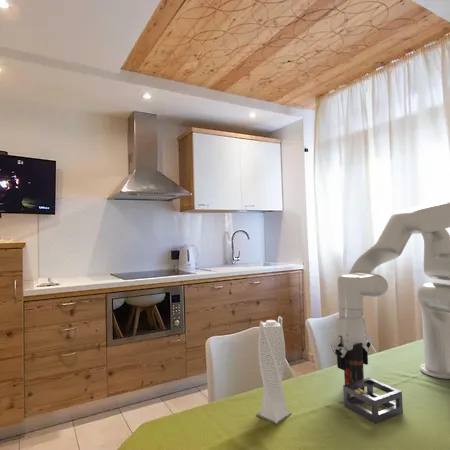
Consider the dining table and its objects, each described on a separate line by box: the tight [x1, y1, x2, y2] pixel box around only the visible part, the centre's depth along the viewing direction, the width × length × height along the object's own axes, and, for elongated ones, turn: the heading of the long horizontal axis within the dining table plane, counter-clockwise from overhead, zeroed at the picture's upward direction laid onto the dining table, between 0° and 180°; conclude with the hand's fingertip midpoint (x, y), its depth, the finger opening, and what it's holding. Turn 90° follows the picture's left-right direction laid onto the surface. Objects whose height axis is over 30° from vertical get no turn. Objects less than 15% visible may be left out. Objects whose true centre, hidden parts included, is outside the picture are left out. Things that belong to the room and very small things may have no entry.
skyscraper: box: [256, 315, 292, 425], centre depth 95 cm, size 8×8×28 cm
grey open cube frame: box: [342, 377, 404, 425], centre depth 97 cm, size 11×11×7 cm
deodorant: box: [343, 343, 365, 391], centre depth 110 cm, size 6×6×15 cm
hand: (352, 366), depth 110 cm, fingers open, 9 cm apart
